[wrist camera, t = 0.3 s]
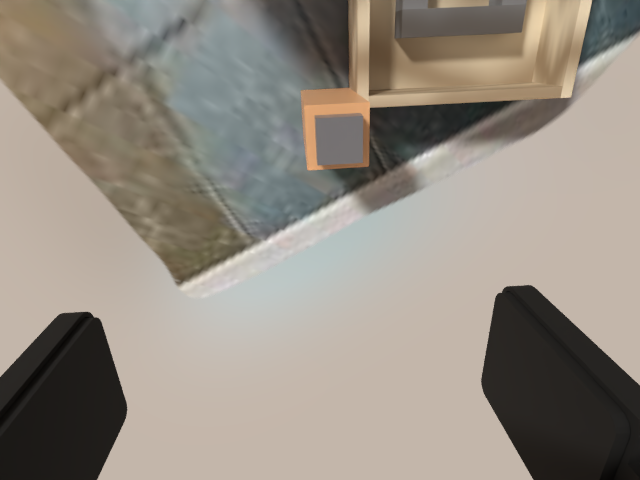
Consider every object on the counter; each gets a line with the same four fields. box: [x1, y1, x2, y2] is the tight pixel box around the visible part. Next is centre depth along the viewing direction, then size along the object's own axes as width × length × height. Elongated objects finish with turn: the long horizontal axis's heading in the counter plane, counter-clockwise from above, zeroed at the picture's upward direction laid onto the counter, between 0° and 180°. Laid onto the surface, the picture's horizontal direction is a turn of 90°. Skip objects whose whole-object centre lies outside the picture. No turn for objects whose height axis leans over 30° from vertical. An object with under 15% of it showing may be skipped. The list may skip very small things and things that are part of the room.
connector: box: [301, 88, 370, 170], centre depth 29 cm, size 4×4×11 cm
